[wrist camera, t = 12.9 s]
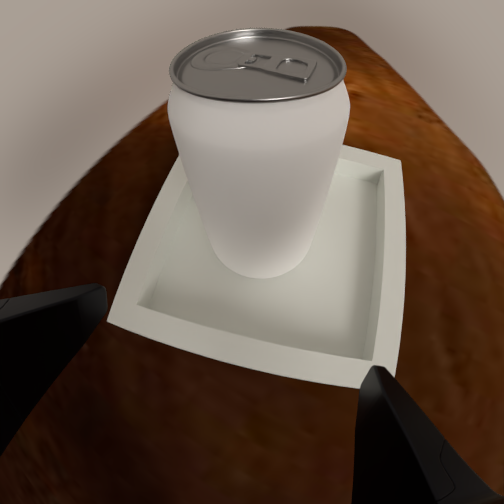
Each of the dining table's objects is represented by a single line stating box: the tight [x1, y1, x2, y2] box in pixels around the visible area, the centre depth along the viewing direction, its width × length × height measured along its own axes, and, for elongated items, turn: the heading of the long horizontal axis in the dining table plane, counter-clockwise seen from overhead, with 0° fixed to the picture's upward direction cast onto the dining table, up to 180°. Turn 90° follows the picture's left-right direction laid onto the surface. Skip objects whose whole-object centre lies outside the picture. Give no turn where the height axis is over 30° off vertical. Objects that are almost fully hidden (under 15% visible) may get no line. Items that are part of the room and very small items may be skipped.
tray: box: [107, 145, 406, 389], centre depth 18 cm, size 16×16×2 cm
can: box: [168, 28, 350, 279], centre depth 13 cm, size 6×6×12 cm
